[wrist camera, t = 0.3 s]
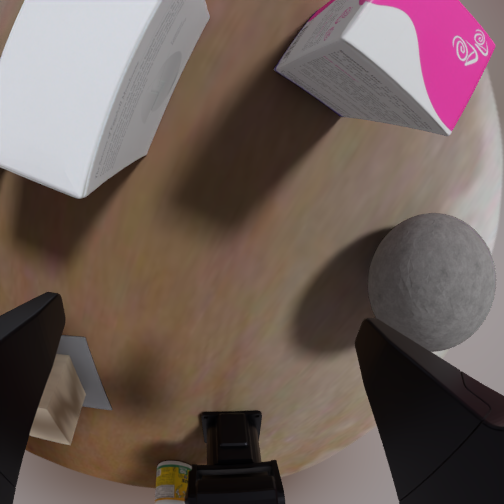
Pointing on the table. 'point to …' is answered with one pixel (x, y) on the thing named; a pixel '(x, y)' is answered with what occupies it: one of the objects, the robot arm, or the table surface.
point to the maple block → (59, 403)
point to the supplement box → (391, 60)
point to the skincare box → (90, 85)
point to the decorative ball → (432, 280)
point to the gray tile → (85, 370)
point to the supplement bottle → (171, 482)
